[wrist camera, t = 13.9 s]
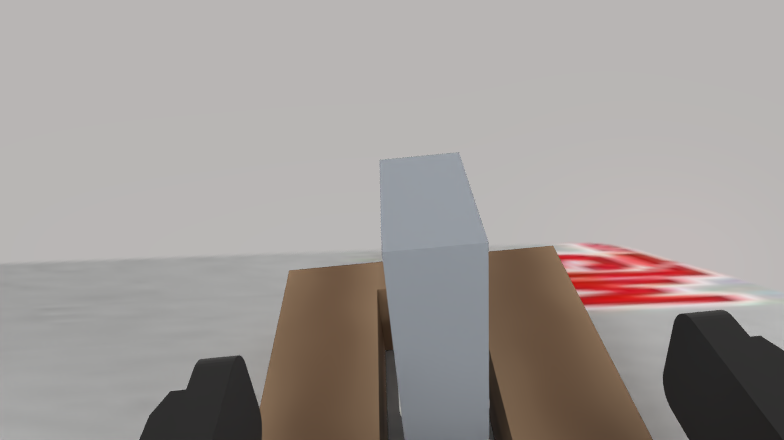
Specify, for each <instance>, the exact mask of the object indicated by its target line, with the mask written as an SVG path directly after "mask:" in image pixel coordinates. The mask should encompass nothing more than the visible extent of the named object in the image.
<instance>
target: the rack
mask: <svg viewBox="0 0 784 440" xmlns="http://www.w3.org/2000/svg"><path fill="white" fill-rule="evenodd" d="M488 256H489V400H490V408H489V416H490V420H491V425H492V429H493V434H494V438H495V440H653V439H652V437H651V435H650V433H649V432H648V430H647V428H646V426H645V424H644V422H643V420H642V418H641V416H640V414H639V412H638V410H637V408H636V406H635V404H634V402H633V400H632V398H631V397H630V395H629V393H628V391H627V389H626V387H625V385H624V383H623V381H622V379H621V377H620V375H619V373H618V371H617V369H616V367H615V365H614V363H613V362H612V360H611V358H610V356H609V354H608V352H607V350H606V348H605V346H604V344H603V342H602V340H601V338H600V336H599V334H598V332H597V330H596V328H595V327H594V325H593V323H592V321H591V319H590V317H589V315H588V313H587V311H586V309H585V307H584V305H583V303H582V301H581V299H580V297H579V295H578V293H577V292H576V290H575V288H574V286H573V284H572V282H571V280H570V278H569V276H568V274H567V272H566V270H565V268H564V266H563V264H562V262H561V260H560V258H559V257H558V255H557V253H556V251H555V249H554V247H553V246H545V247H534V248H523V249H513V250H502V251H492V252H488ZM385 350H394V349H393V341H392V332H391V324H390V316H389V308H388V299H387V291H386V283H385V275H384V266H383V262H375V263H364V264H353V265H343V266H332V267H322V268H311V269H300V270H290V271H289V274H288V279H287V284H286V288H285V293H284V298H283V302H282V307H281V311H280V316H279V321H278V325H277V330H276V335H275V339H274V344H273V349H272V353H271V358H270V363H269V367H268V372H267V377H266V381H265V386H264V391H263V395H262V400H261V405H260V413H261V419H262V440H388V425H387V393H386V361H385Z"/></svg>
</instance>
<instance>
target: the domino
mask: <svg viewBox="0 0 784 440" xmlns="http://www.w3.org/2000/svg"><path fill="white" fill-rule="evenodd" d="M380 194H381V196H380V197H381V240H382V258H383V266H384V275H385V283H386V291H387V299H388V308H389V316H390V324H391V332H392V341H393V349H394V357H395V365H396V373H397V382H398V392H399V410H400V416H401V415H402V423H403V431H404V439H405V440H489V408H490V400H489V256H488V240H487V237H486V234H485V231H484V227H483V224H482V221H481V218H480V215H479V212H478V209H477V206H476V203H475V200H474V197H473V194H472V191H471V188H470V185H469V182H468V179H467V176H466V173H465V170H464V166H463V163H462V160H461V157H460V155H459V152H458V153H447V154H437V155H427V156H416V157H407V158H396V159H385V160H380Z"/></svg>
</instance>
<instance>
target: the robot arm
mask: <svg viewBox="0 0 784 440" xmlns="http://www.w3.org/2000/svg"><path fill="white" fill-rule="evenodd" d="M663 385H664V391H665V395H666V398H667V401H668V403H669V406H670V408H671V410H672V411H673V413H674V415H675V416H676V418H677V420H678V421H679V423H680V425H681V427H682V428H683V430H684V432H685V433H686V435H687V437H688V438H689V440H784V351H783V350H782V349H780V348H779V347H777V346H776V345H774V344H773V343H771V342H769V341H768V340H766V339H765V338H763V337H762V336H754V337H750V336H749V335H748V334H747V333H746V331H745V330H744V329H743V328H742V327H741V326H740V325H739V323H738V322H737V321H736V320H735V319H734V318H733V317H732V315H731V314H729V313H728V312H726V311H724V310H716V311H705V312H695V313H685V314H679V315H678V316H677V317H676V319H675V321H674V325H673V329H672V334H671V339H670V343H669V348H668V353H667V358H666V362H665V367H664V372H663ZM139 440H262V419H261V413H260V409H259V406H258V402H257V399H256V396H255V393H254V390H253V386H252V383H251V380H250V377H249V374H248V370H247V367H246V364H245V361H244V359H243V358H242V356H229V357H219V358H208V359H200V360H199V361H198V362H197V363H196V365H195V367H194V370H193V372H192V375H191V378H190V380H189V383H188V386H187V389H186V390H179V391H170V392H169V394H168V395H167V396H166V397H165V398H164V399H163V401H162V402H161V403H160V404H159V405H158V406H157V407H156V409H155V410H154V411H153V412H152V413H151V414H150V416H149V418H148V420H147V423H146V425H145V427H144V430H143V432H142V435H141V437H140V439H139Z"/></svg>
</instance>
